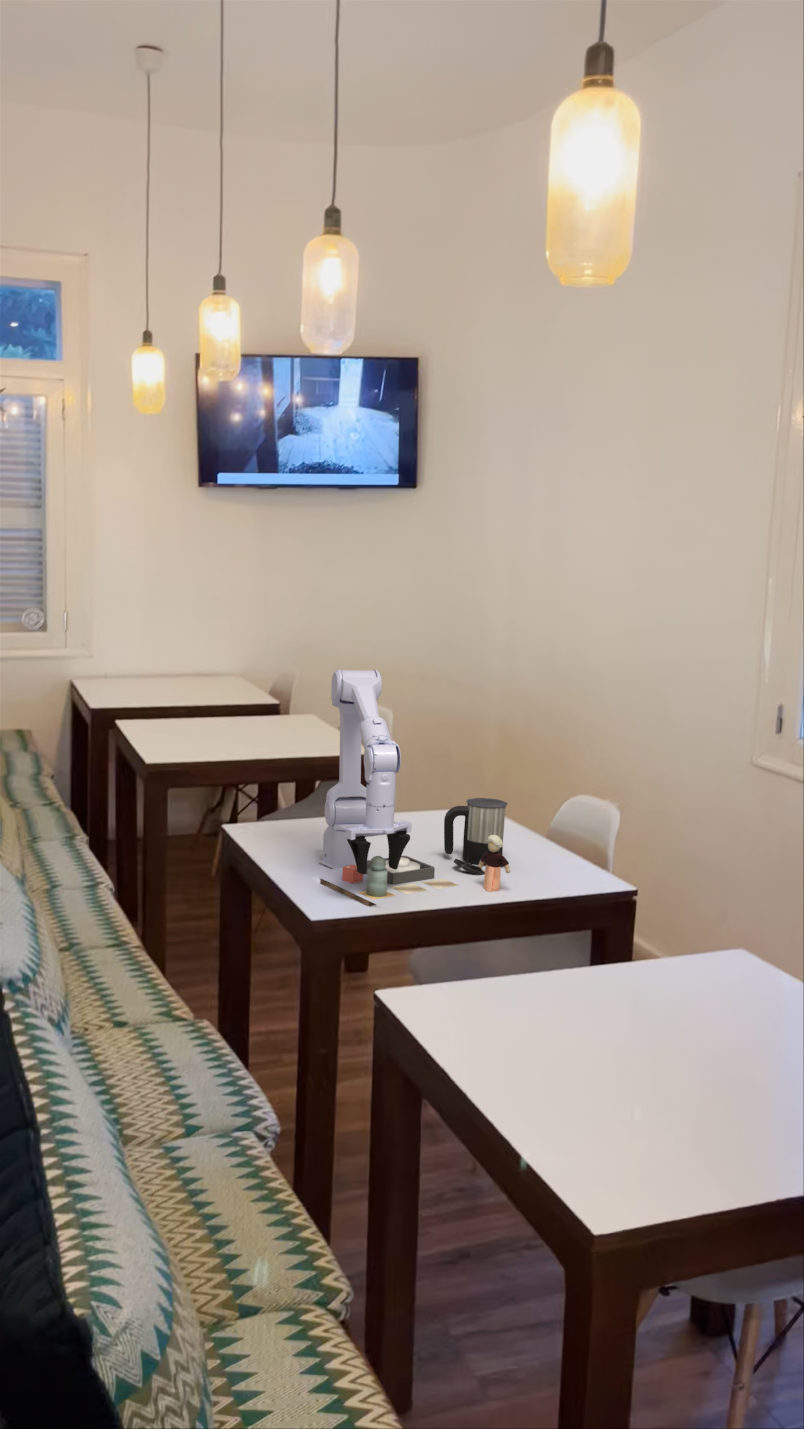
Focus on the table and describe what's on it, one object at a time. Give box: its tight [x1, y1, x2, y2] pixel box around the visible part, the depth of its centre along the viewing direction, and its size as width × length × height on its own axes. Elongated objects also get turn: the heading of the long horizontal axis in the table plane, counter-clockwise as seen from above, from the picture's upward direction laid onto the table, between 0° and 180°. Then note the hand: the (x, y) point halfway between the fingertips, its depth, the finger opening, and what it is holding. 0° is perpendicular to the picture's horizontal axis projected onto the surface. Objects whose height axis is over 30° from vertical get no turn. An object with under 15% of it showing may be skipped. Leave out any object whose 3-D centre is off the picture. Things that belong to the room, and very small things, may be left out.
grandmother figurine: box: [477, 835, 511, 893], centre depth 244 cm, size 8×4×13 cm, turn 62°
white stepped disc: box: [385, 857, 420, 873], centre depth 253 cm, size 9×9×3 cm
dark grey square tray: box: [365, 855, 436, 886], centre depth 253 cm, size 11×11×2 cm
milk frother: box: [443, 797, 508, 876], centre depth 263 cm, size 14×16×15 cm
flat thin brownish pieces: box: [320, 878, 460, 907], centre depth 248 cm, size 18×24×1 cm
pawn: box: [366, 855, 388, 897], centre depth 238 cm, size 4×4×8 cm
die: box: [341, 865, 364, 884], centre depth 248 cm, size 3×3×3 cm
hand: (377, 870), depth 238 cm, fingers open, 7 cm apart
